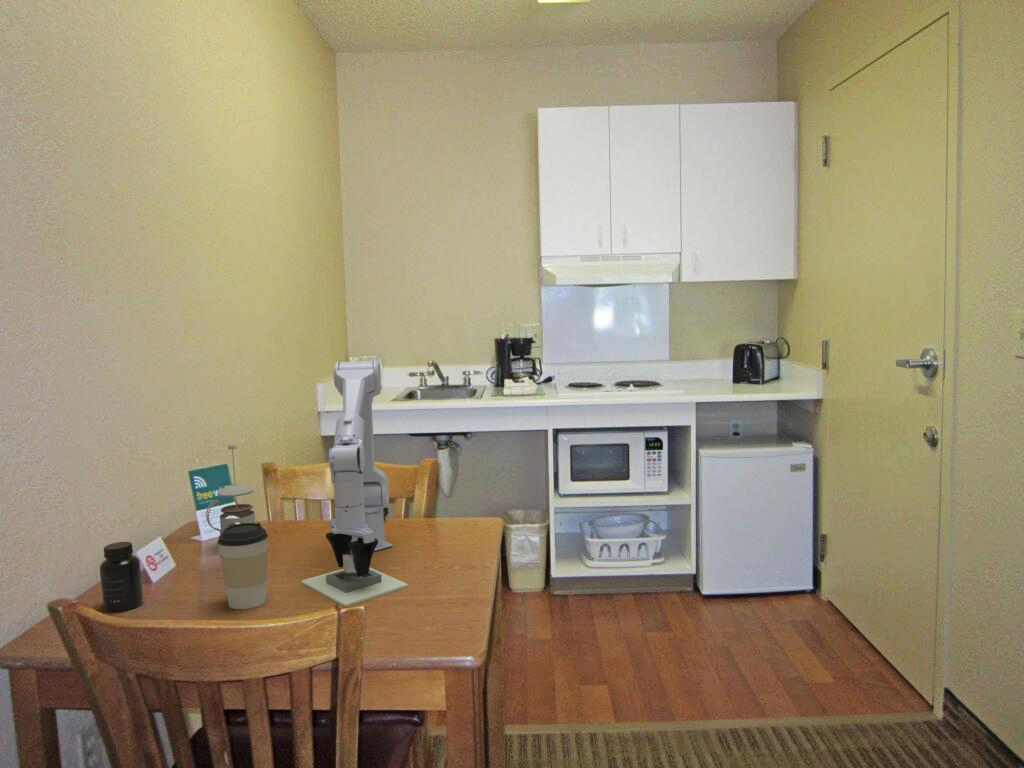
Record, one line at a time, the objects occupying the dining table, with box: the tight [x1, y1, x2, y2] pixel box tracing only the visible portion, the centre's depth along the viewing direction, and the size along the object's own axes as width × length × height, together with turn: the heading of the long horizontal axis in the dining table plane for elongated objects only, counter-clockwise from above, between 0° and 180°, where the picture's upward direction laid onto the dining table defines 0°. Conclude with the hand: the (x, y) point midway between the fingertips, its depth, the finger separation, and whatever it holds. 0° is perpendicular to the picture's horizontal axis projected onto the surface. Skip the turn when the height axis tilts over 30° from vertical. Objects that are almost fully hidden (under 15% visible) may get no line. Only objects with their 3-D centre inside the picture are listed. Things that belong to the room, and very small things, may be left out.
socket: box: [300, 567, 409, 608], centre depth 150 cm, size 18×14×2 cm
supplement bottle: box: [99, 541, 144, 613], centre depth 142 cm, size 7×7×12 cm
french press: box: [205, 443, 256, 554], centre depth 175 cm, size 10×12×25 cm
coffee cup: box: [217, 522, 269, 611], centre depth 142 cm, size 9×9×15 cm
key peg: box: [342, 550, 364, 582], centre depth 150 cm, size 4×4×6 cm
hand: (353, 570), depth 150 cm, fingers open, 7 cm apart
